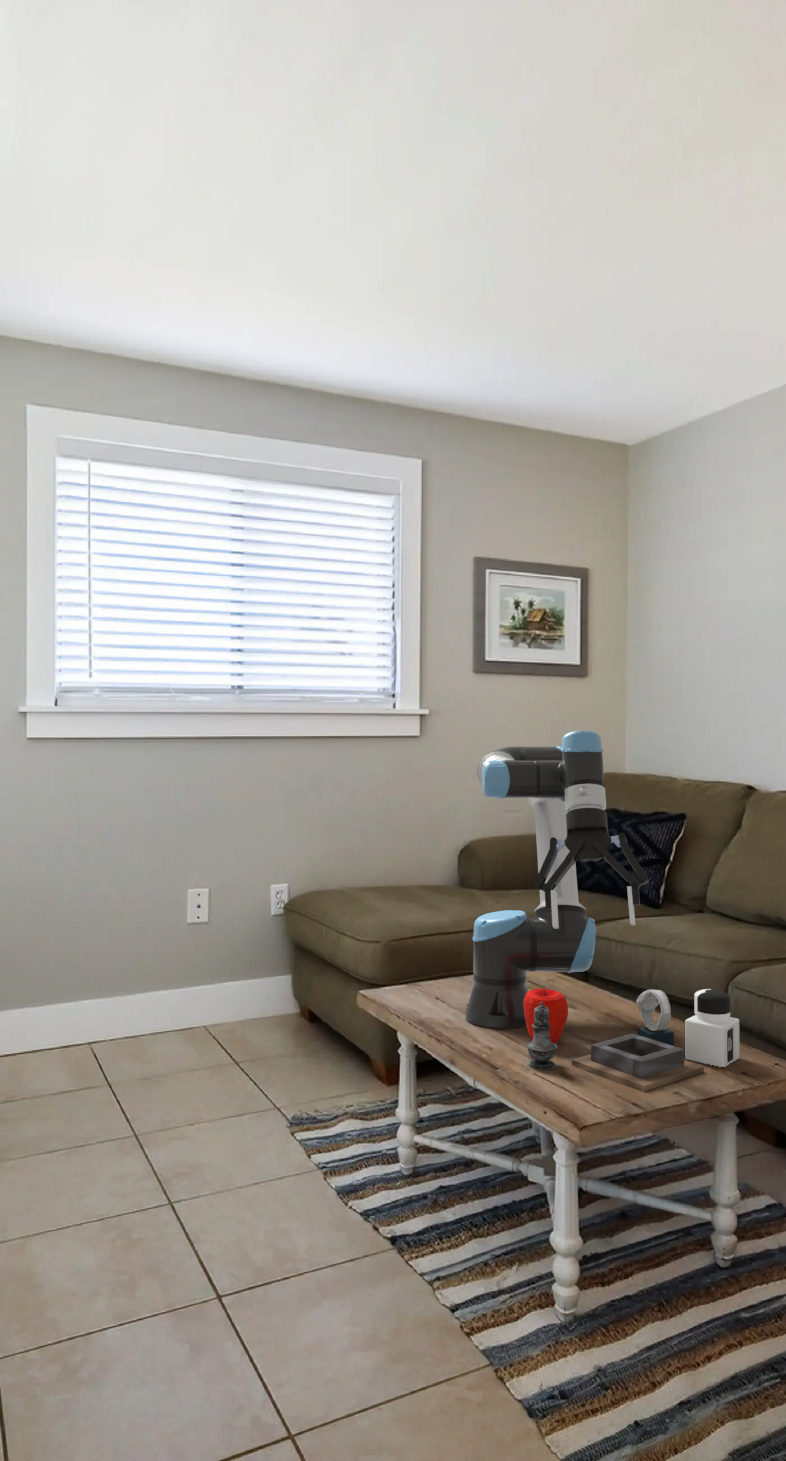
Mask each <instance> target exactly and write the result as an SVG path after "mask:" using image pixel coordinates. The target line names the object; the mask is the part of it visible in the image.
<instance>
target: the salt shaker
mask: <svg viewBox="0 0 786 1461" xmlns="http://www.w3.org/2000/svg"><path fill="white" fill-rule="evenodd" d="M532 1027H534V1037H533V1041H532V1040H531V1041H530V1042H528V1043H526V1044H525V1047H526V1048H527V1052H528V1055H529V1057H530V1058H532V1059H531V1060H529V1061H528V1062H527V1066H528V1065H529V1066H528V1067H529V1068H532V1069H535V1070H541V1071H543V1070H544V1071H546V1070H552V1069H555V1068H556V1063H555V1062H554V1061H552V1059H553V1058H554V1057H555V1055H556V1051H557V1049H558V1045H557V1043H555V1044H554V1043H552V1042H551V1041H550V1036H549V1028H551V1025H550V1024H549V1010H548V1008H547V1007H545V1006H543V1002H542V1001H541V1002H540V1005H539V1006H537V1007H536V1008H535V1009H534V1024H533V1025H532Z"/></svg>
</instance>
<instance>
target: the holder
mask: <svg viewBox="0 0 786 1461" xmlns="http://www.w3.org/2000/svg"><path fill="white" fill-rule="evenodd" d="M571 1065H572V1066H573V1067H576V1068H579V1069H582V1070H584V1071H586V1072H589V1073H592V1074H594V1075H597V1076H600V1077H604V1078H606V1079H608V1080H610V1081H615V1082H617V1083H619V1084H623V1085H624V1086H627V1087H631V1088H633V1089H636V1090H639V1091H641V1092H647V1091H650V1090H652V1089H656V1088H659V1087H662V1086H666V1085H668V1084H671V1083H672V1084H673V1083H675V1082H677V1081H680V1080H684V1079H687V1078H689V1077H692V1076H696V1075H699V1074H701V1072H702V1073H704V1072H705V1066H703V1065H701V1064H697V1063H695V1062H692V1061H691V1062H690V1061H689V1060H685V1048H681V1047H677V1046H675V1045H674V1046H672V1045H669V1044H665V1043H662V1042H659V1041H656V1040H652V1039H649V1038H646V1037H643V1036H640V1035H638V1034H636V1033H630V1034H626V1035H622V1036H619V1037H618V1036H617V1037H615V1038H611V1039H607V1040H603V1041H599V1042H596V1043H592V1044H590V1054H588V1055H584V1056H580V1057H577V1058H573V1059H572V1060H571ZM698 1073H699V1074H698Z"/></svg>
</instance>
